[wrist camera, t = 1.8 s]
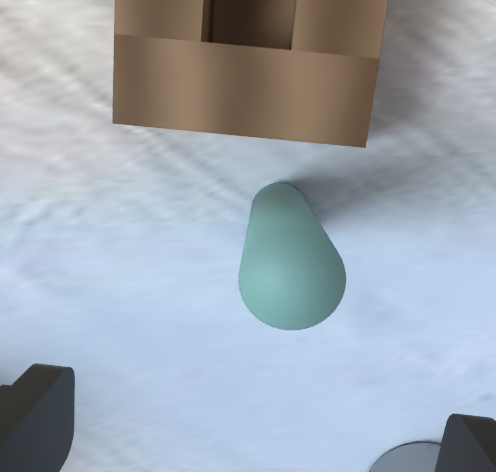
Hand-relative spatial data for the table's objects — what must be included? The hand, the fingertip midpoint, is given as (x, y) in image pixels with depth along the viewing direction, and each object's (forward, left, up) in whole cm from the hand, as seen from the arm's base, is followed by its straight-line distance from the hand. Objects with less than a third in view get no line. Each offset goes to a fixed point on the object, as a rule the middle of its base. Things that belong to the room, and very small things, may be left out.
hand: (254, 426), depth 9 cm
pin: (-1, -1, -22) cm, 22 cm away
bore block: (+2, -13, -22) cm, 26 cm away
